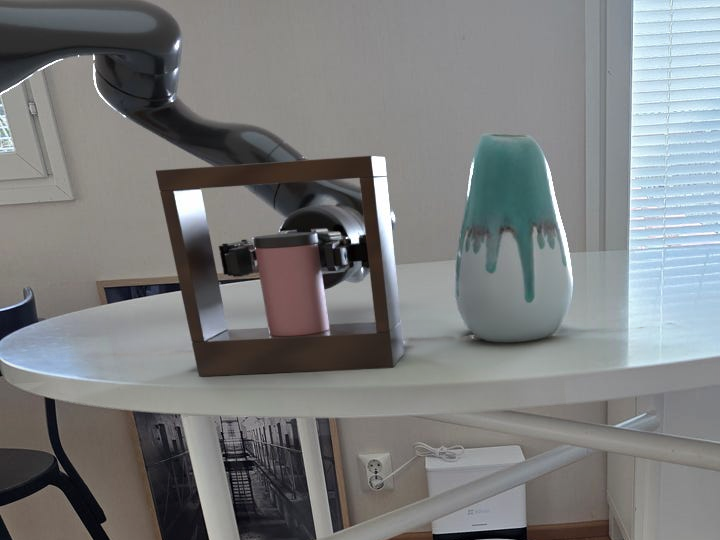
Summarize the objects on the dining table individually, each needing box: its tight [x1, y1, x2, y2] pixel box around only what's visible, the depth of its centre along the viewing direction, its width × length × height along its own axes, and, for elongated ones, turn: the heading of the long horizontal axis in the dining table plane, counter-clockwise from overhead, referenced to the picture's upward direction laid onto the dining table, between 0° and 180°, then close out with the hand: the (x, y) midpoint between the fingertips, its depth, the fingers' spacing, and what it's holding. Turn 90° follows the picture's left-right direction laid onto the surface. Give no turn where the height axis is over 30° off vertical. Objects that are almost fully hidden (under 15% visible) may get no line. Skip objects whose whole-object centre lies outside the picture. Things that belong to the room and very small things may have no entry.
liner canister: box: [252, 232, 330, 336], centre depth 76 cm, size 6×6×8 cm
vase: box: [453, 132, 574, 343], centre depth 82 cm, size 12×12×18 cm
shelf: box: [155, 155, 405, 377], centre depth 76 cm, size 18×6×16 cm, turn 86°
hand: (281, 260), depth 74 cm, fingers open, 8 cm apart
